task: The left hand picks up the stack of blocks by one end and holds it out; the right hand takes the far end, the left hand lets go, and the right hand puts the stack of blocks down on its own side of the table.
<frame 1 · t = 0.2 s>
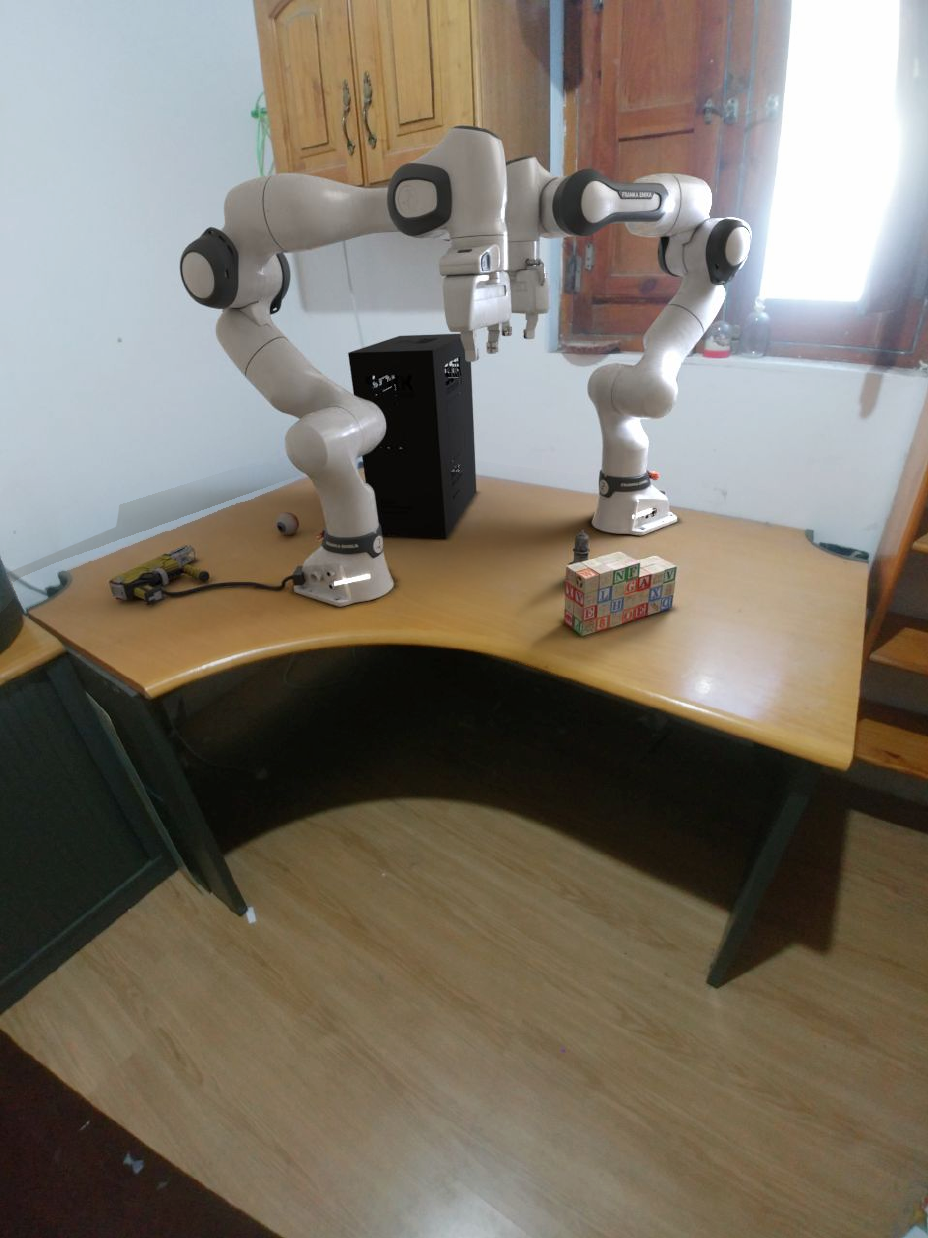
left hand: (483, 357, 100), 48 cm above the table, tool pointing down, fingers open, 8 cm apart
right hand: (517, 337, 125), 48 cm above the table, tool pointing down, fingers open, 8 cm apart
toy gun: (175, 583, 142), on the table
grey chess piece: (579, 582, 132), on the table
black computer case: (428, 512, 175), on the table
stack of blocks: (618, 615, 118), on the table
eyeball: (289, 534, 165), on the table
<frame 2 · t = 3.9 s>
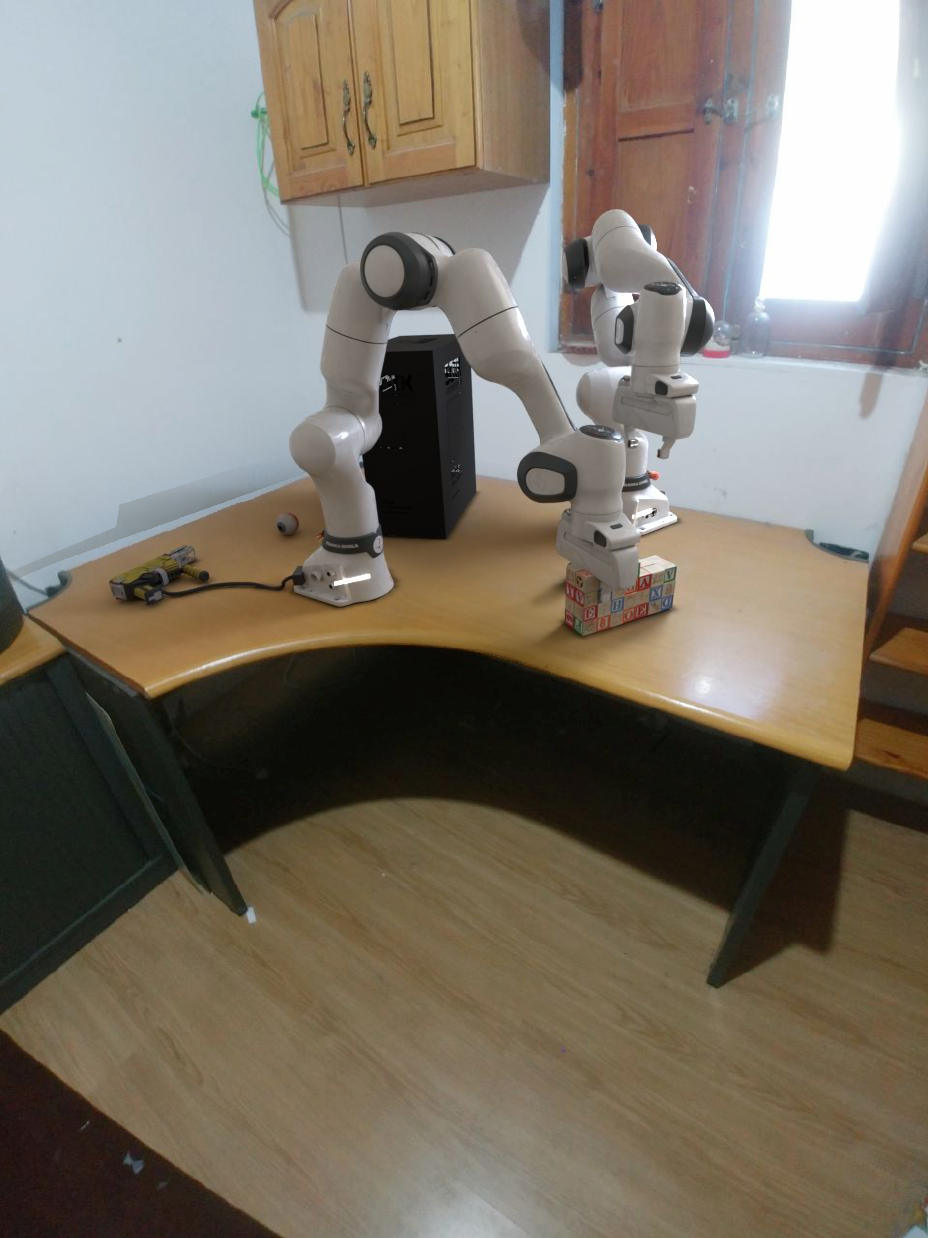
left hand: (591, 592, 112), 7 cm above the table, tool pointing down, fingers closed on stack of blocks, 6 cm apart
right hand: (646, 452, 121), 26 cm above the table, tool pointing down, fingers open, 8 cm apart
stack of blocks: (618, 615, 118), on the table, touching left hand
everything else where it was.
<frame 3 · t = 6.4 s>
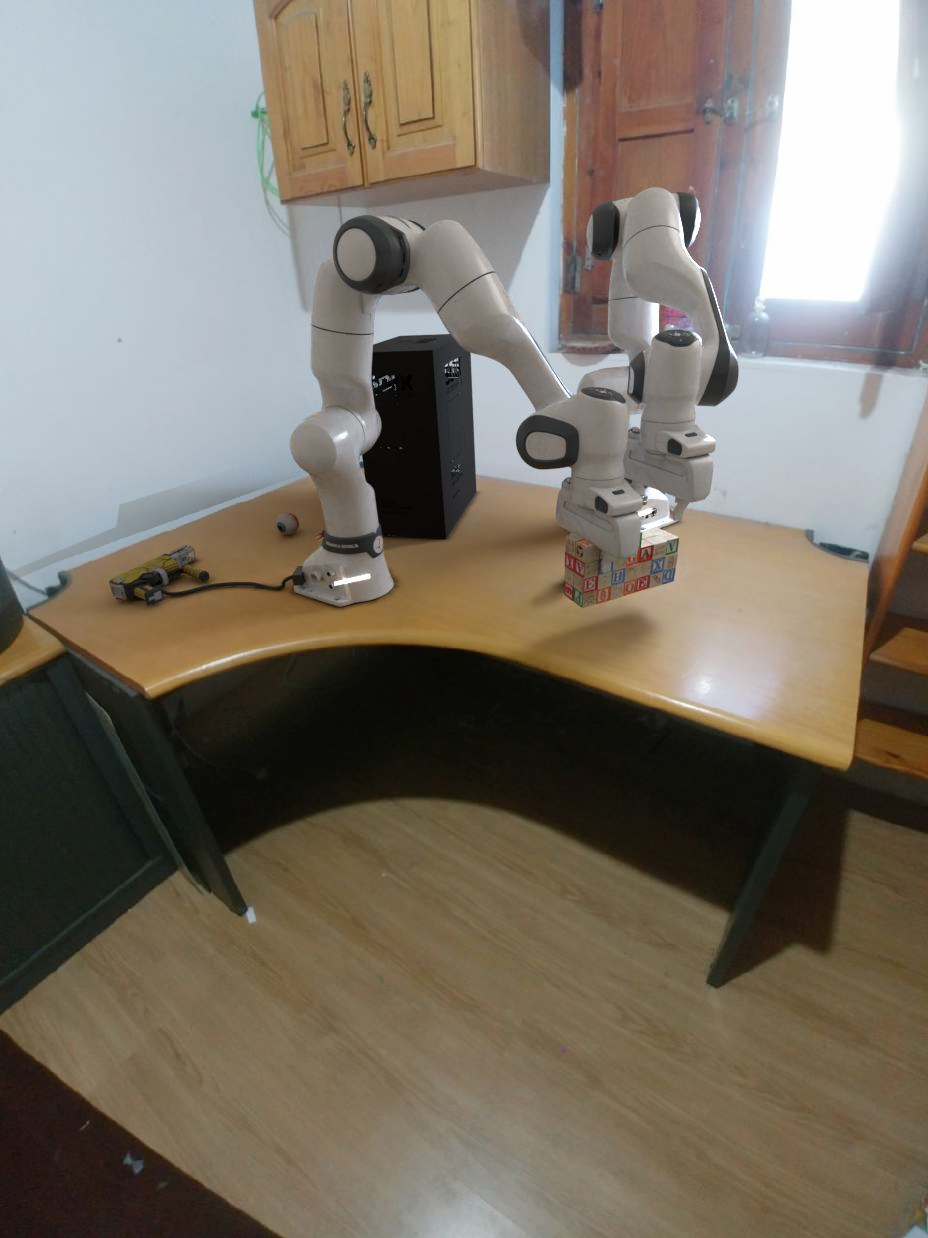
left hand: (591, 563, 110), 13 cm above the table, tool pointing down, fingers closed on stack of blocks, 6 cm apart
right hand: (657, 511, 111), 20 cm above the table, tool pointing down, fingers open, 8 cm apart
stack of blocks: (619, 588, 116), point 6 cm above the table, touching left hand
everything else where it was.
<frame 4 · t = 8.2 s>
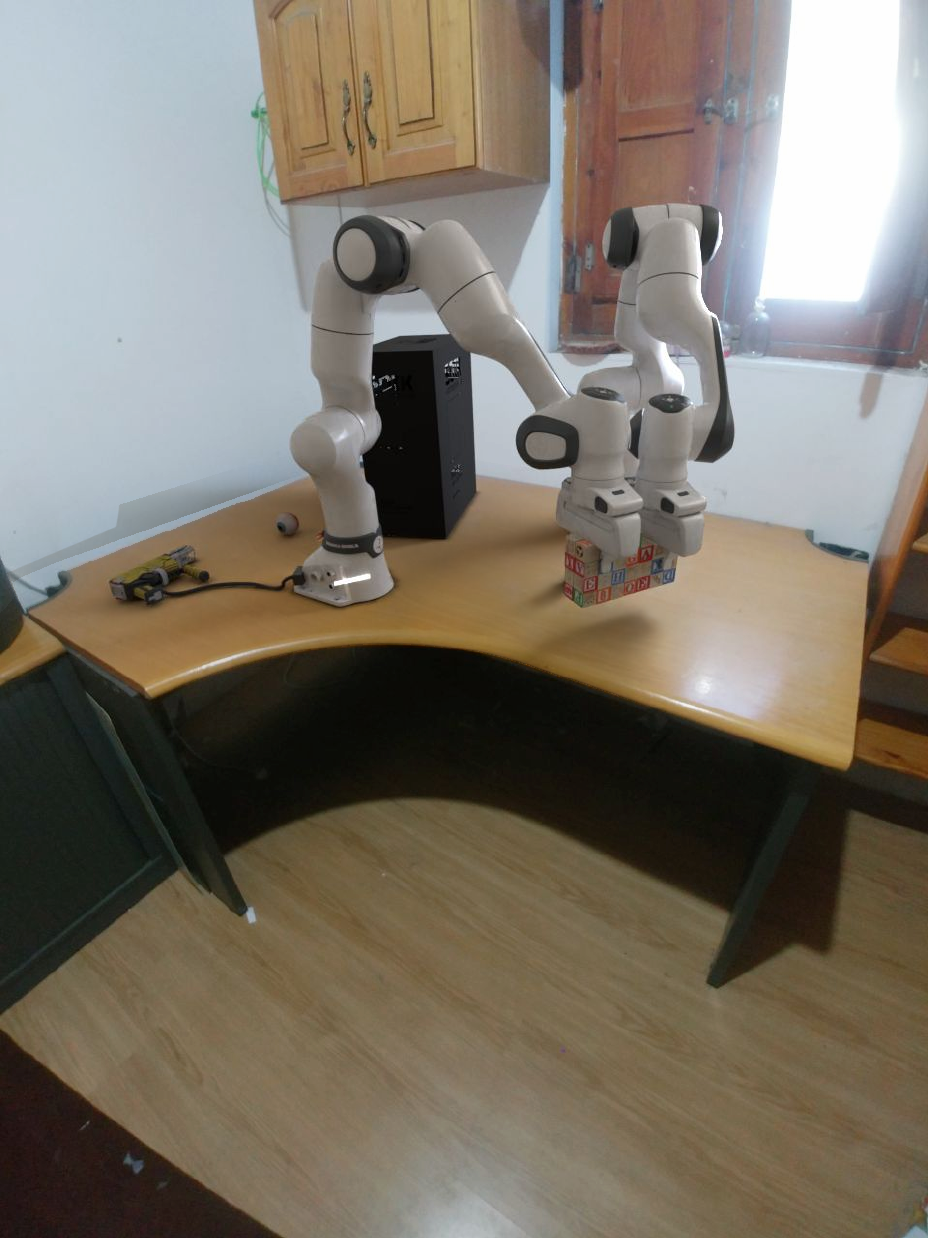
left hand: (591, 563, 110), 13 cm above the table, tool pointing down, fingers closed on stack of blocks, 6 cm apart
right hand: (651, 560, 116), 10 cm above the table, tool pointing down, fingers closed on stack of blocks, 6 cm apart
stack of blocks: (619, 588, 115), point 6 cm above the table, touching right hand, left hand
everything else where it was.
when the left hand's fingers open (13 cm above the table, at t = 9.4 s): stack of blocks stays where it is, held by the right hand.
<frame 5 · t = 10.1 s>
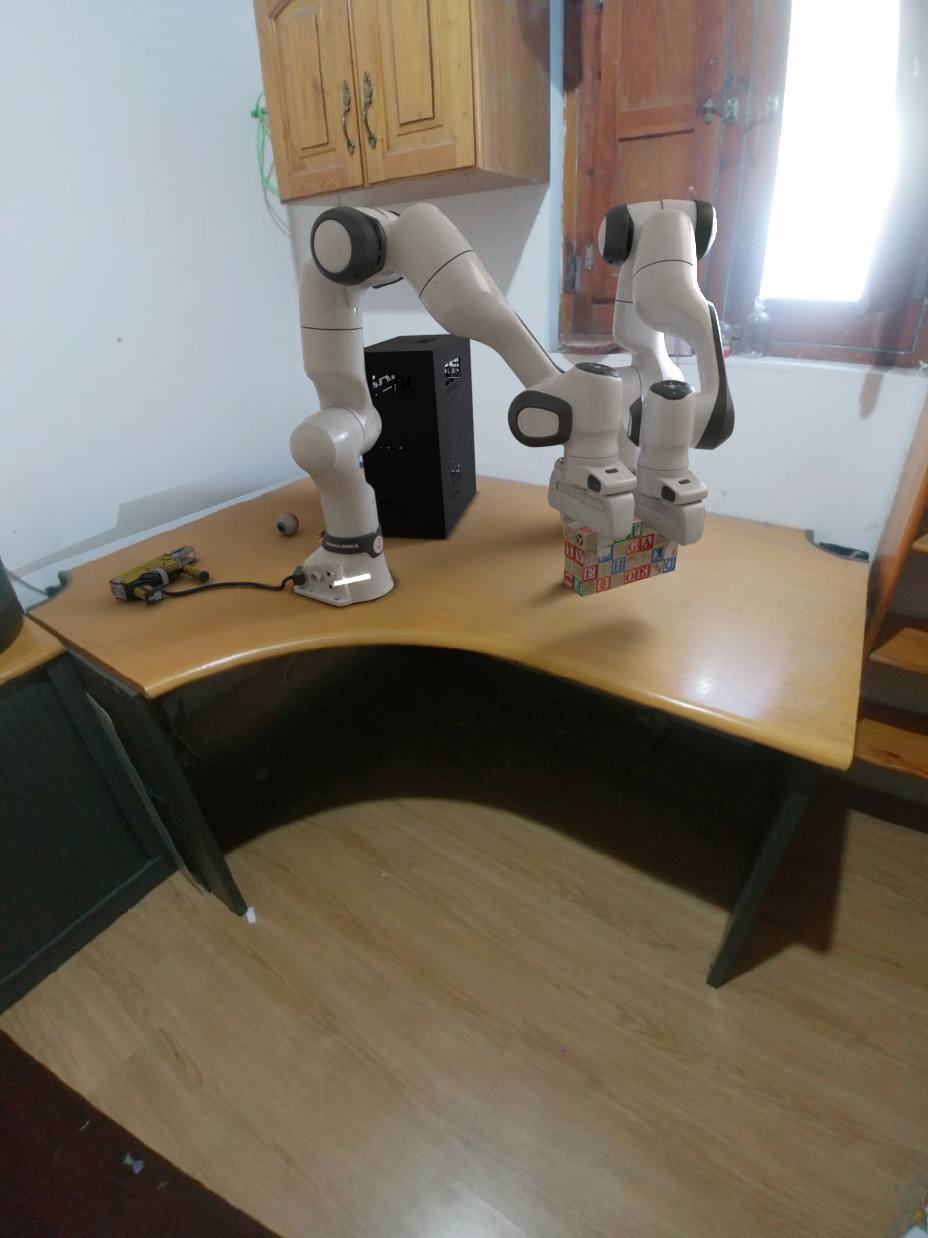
left hand: (583, 545, 107), 17 cm above the table, tool pointing down, fingers open, 8 cm apart
right hand: (651, 549, 115), 12 cm above the table, tool pointing down, fingers closed on stack of blocks, 6 cm apart
stack of blocks: (619, 577, 115), point 8 cm above the table, touching right hand
everything else where it was.
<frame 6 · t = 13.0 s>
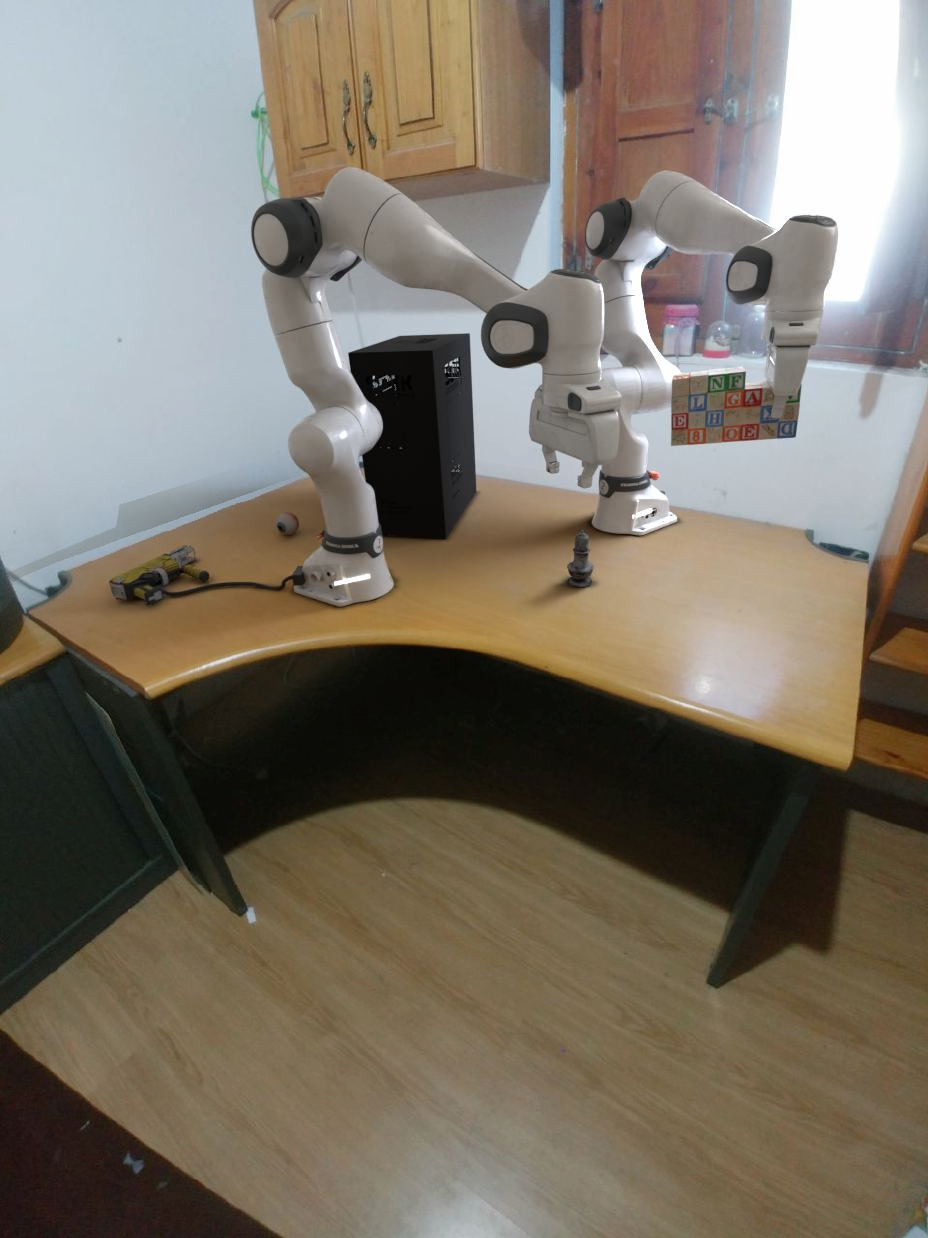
left hand: (567, 479, 99), 30 cm above the table, tool pointing down, fingers open, 8 cm apart
right hand: (773, 412, 109), 35 cm above the table, tool pointing down, fingers closed on stack of blocks, 6 cm apart
stack of blocks: (730, 438, 114), point 30 cm above the table, tilted 5°, touching right hand
everything else where it was.
when the right hand's fingers open (5 cm above the table, at t = 17.7 s): stack of blocks stays where it is, on the table.
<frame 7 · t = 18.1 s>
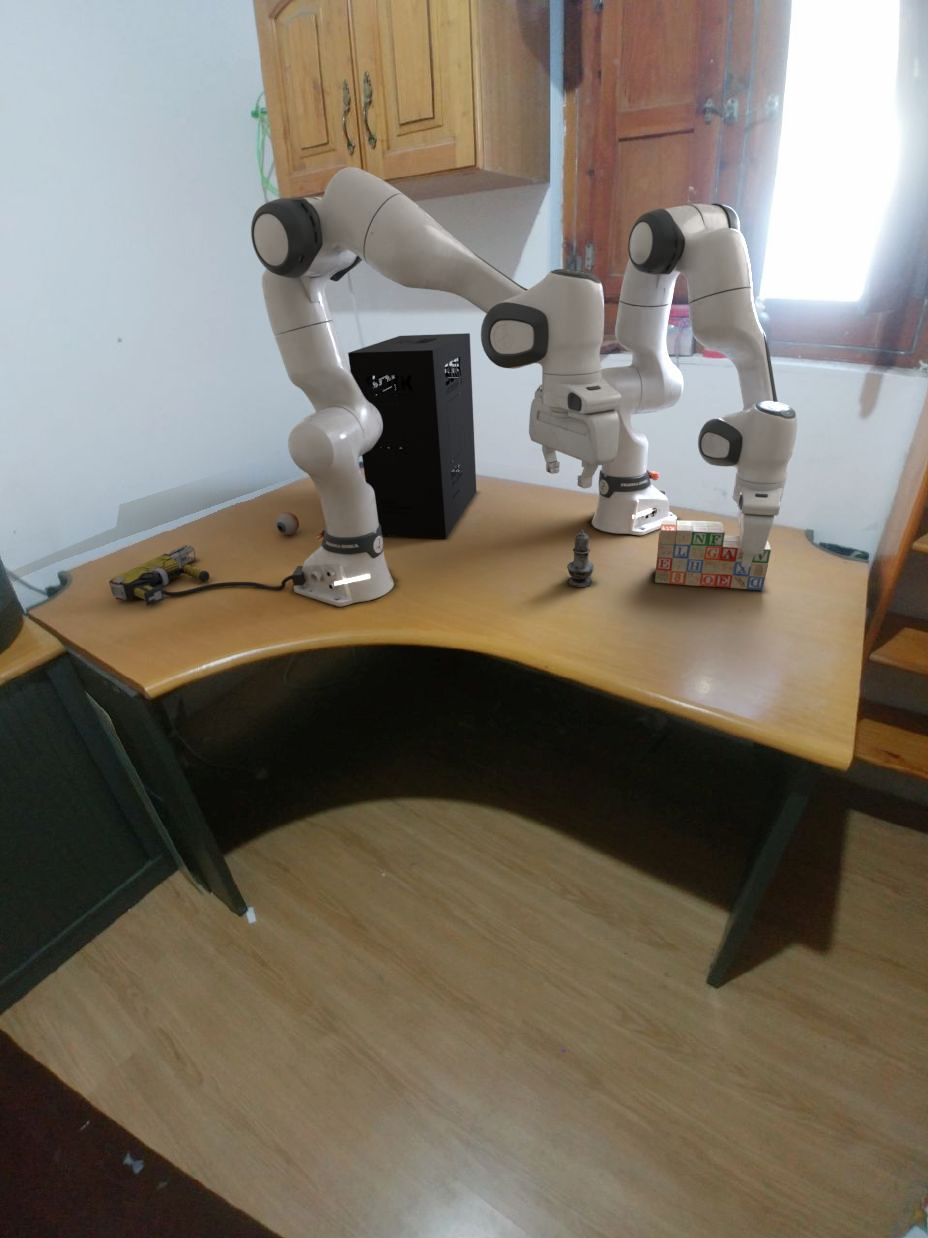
left hand: (567, 479, 99), 30 cm above the table, tool pointing down, fingers open, 8 cm apart
right hand: (743, 555, 124), 6 cm above the table, tool pointing down, fingers open, 8 cm apart
stack of blocks: (706, 580, 129), on the table
everything else where it was.
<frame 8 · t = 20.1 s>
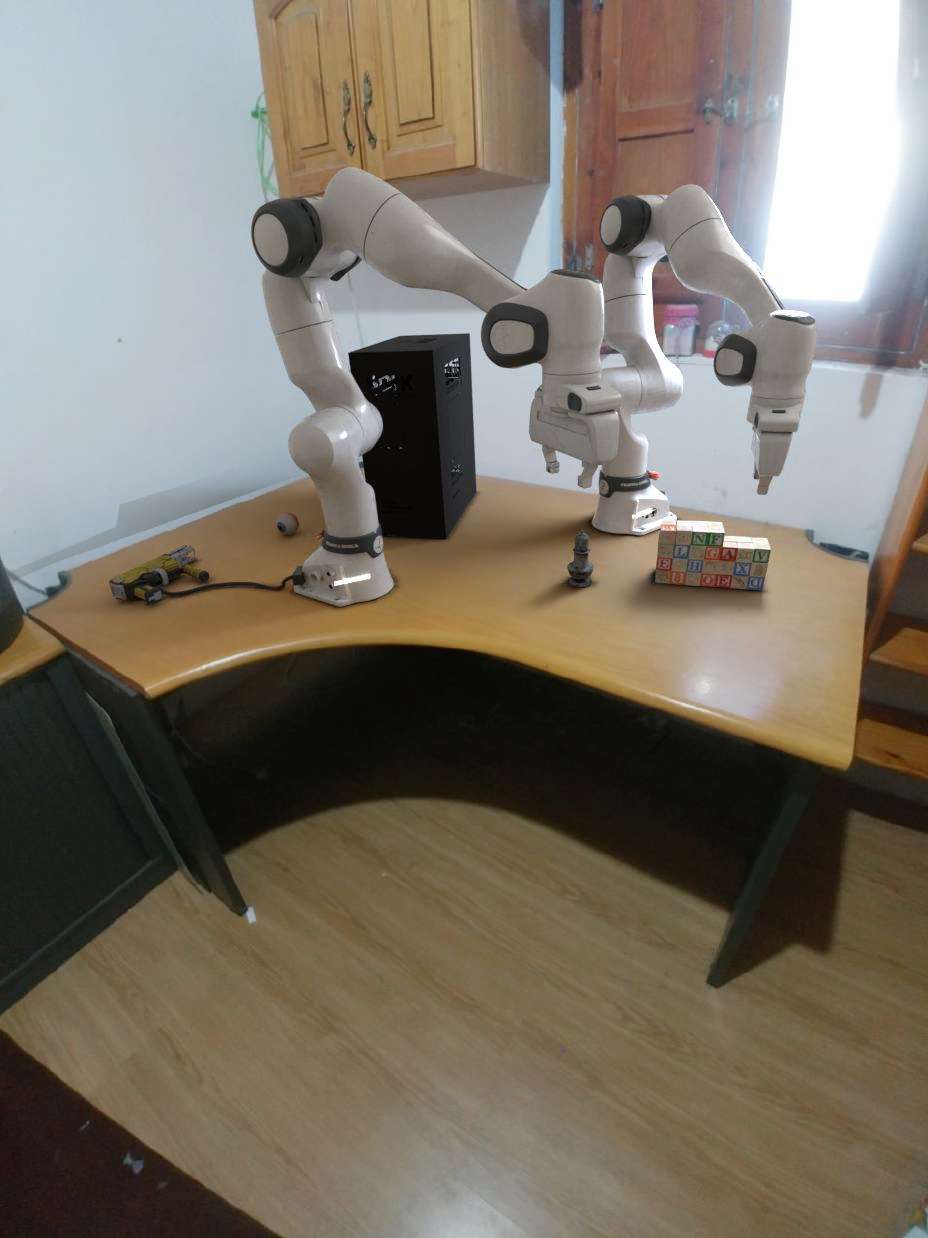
left hand: (567, 479, 99), 30 cm above the table, tool pointing down, fingers open, 8 cm apart
right hand: (759, 485, 116), 21 cm above the table, tool pointing down, fingers open, 8 cm apart
nothing on the table moved.
at the end: stack of blocks inside the target area (6.6 cm from its centre), on the table; the left hand is holding nothing; the right hand is holding nothing; stack of blocks at rest at the end (0.0 cm/s) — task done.
